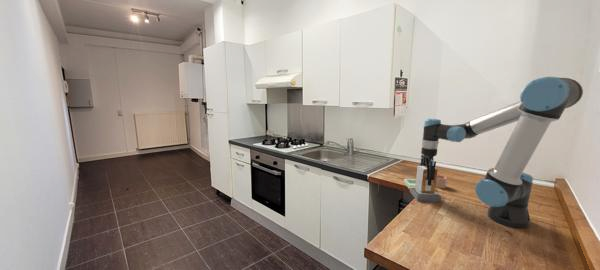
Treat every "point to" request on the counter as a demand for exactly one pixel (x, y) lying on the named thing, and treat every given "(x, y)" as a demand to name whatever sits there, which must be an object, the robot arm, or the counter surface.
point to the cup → (441, 181)
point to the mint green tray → (410, 182)
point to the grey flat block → (424, 196)
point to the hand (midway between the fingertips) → (425, 187)
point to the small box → (424, 179)
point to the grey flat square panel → (425, 192)
